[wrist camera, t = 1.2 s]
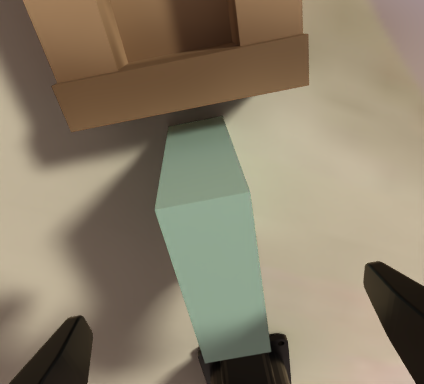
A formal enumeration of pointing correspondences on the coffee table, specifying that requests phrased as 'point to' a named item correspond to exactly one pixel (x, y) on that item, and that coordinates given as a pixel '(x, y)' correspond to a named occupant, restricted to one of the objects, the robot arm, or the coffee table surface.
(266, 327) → the pale green block
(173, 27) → the track
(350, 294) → the coffee table surface
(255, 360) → the robot arm
